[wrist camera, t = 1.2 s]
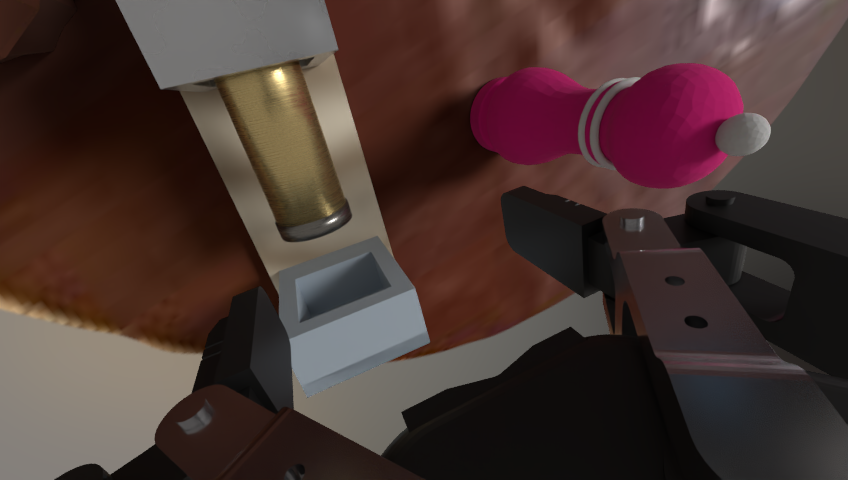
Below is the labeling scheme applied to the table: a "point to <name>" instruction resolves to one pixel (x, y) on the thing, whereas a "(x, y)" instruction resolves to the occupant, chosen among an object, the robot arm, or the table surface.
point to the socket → (348, 314)
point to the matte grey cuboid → (226, 37)
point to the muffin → (32, 25)
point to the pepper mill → (621, 122)
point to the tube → (286, 149)
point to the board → (248, 191)
